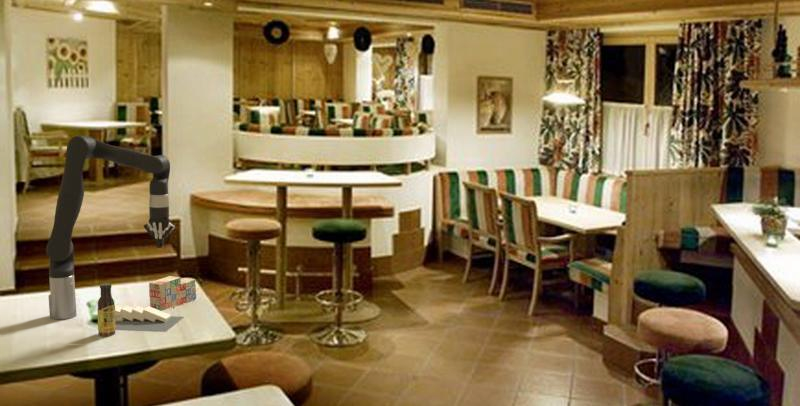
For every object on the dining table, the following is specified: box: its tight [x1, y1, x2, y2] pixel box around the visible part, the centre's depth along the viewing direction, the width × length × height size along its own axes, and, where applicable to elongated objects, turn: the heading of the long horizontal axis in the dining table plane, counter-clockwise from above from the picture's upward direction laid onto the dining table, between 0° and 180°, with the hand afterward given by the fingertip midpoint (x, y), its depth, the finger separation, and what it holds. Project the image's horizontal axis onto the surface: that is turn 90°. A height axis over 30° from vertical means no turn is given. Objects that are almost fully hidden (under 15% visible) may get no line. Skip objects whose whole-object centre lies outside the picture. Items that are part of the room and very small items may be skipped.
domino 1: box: [115, 315, 125, 322], centre depth 307 cm, size 2×5×10 cm
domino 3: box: [120, 304, 146, 321], centre depth 306 cm, size 2×5×10 cm
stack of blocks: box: [148, 275, 197, 312], centre depth 328 cm, size 21×6×12 cm, turn 153°
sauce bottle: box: [97, 282, 117, 338], centre depth 287 cm, size 6×6×20 cm
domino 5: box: [142, 305, 172, 322], centre depth 305 cm, size 2×5×10 cm
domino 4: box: [131, 305, 158, 322], centre depth 306 cm, size 2×5×10 cm
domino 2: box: [115, 304, 135, 321], centre depth 306 cm, size 2×5×10 cm
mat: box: [115, 315, 185, 333], centre depth 302 cm, size 25×19×1 cm
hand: (159, 247), depth 307 cm, fingers closed
